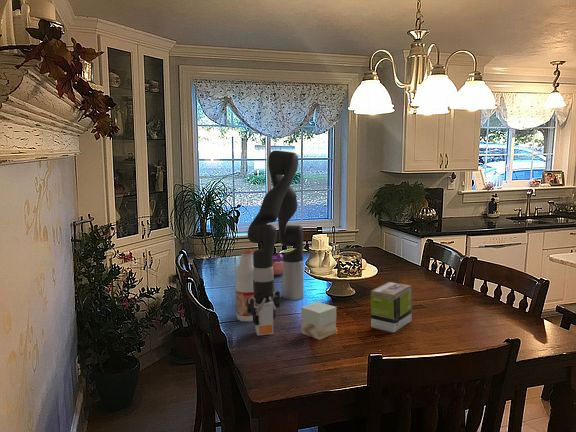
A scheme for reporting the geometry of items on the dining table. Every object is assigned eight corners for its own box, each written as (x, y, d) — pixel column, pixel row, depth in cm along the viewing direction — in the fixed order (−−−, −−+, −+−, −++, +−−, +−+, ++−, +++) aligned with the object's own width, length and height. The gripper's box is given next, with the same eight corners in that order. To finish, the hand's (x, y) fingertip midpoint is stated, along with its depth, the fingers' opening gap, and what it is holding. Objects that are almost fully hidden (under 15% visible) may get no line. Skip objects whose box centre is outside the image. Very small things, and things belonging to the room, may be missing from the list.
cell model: (251, 273, 266) (250, 253, 264) (284, 268, 274) (283, 249, 273) (262, 280, 251) (262, 259, 249) (297, 275, 259) (297, 255, 258)
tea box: (388, 316, 194) (389, 280, 192) (412, 321, 188) (412, 285, 186) (369, 327, 183) (370, 289, 181) (394, 333, 177) (394, 294, 175)
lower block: (301, 333, 178) (301, 320, 178) (318, 327, 184) (318, 314, 184) (319, 340, 172) (319, 326, 171) (336, 333, 178) (336, 320, 177)
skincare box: (257, 336, 176) (257, 304, 174) (255, 332, 180) (254, 301, 178) (273, 334, 177) (273, 302, 176) (271, 330, 181) (270, 299, 180)
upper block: (301, 320, 178) (301, 307, 177) (318, 314, 184) (318, 301, 183) (319, 326, 171) (319, 313, 170) (336, 320, 177) (336, 307, 177)
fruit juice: (245, 312, 201) (243, 246, 197) (264, 316, 197) (263, 248, 193) (232, 319, 193) (229, 251, 189) (251, 323, 189) (249, 253, 185)
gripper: (271, 272, 183) (272, 314, 185) (241, 280, 174) (242, 324, 176) (284, 276, 178) (285, 319, 180) (254, 284, 168) (255, 329, 170)
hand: (264, 321), depth 178 cm, fingers closed on skincare box, 7 cm apart
